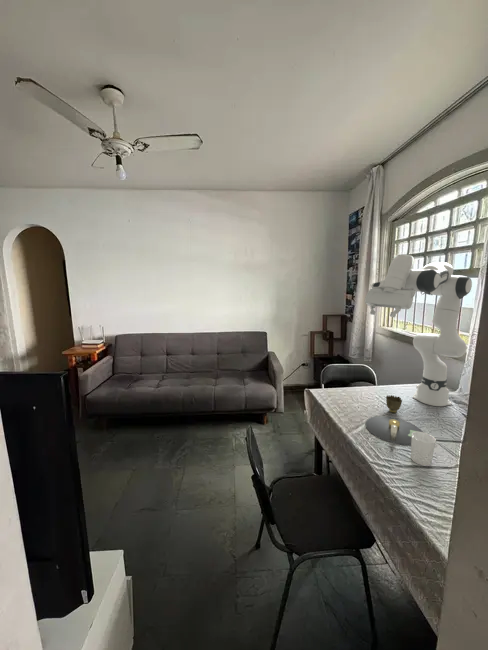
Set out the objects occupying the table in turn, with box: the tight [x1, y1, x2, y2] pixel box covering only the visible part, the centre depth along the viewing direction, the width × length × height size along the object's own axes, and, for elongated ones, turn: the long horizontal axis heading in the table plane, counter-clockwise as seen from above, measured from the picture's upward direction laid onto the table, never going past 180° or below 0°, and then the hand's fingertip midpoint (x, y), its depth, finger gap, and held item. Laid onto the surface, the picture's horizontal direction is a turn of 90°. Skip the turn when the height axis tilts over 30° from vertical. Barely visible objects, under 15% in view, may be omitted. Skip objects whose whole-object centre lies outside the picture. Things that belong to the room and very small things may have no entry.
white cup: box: [410, 431, 437, 467], centre depth 109 cm, size 8×8×10 cm
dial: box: [365, 415, 423, 446], centre depth 132 cm, size 24×24×1 cm
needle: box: [389, 419, 400, 441], centre depth 127 cm, size 14×4×6 cm, turn 151°
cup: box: [385, 394, 403, 414], centre depth 149 cm, size 8×7×8 cm
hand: (381, 315), depth 124 cm, fingers open, 8 cm apart
